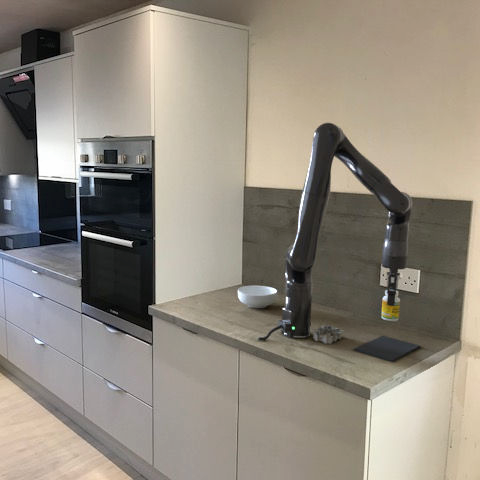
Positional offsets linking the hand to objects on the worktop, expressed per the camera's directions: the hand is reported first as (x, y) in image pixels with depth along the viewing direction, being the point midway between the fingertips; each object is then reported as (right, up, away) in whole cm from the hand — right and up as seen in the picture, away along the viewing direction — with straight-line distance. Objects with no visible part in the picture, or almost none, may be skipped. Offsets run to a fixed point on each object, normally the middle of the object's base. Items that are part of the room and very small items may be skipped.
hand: (390, 303), depth 175 cm
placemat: (0, -16, +2) cm, 16 cm away
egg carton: (-18, -14, +12) cm, 25 cm away
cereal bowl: (-35, -8, +52) cm, 63 cm away
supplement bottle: (0, -6, +1) cm, 6 cm away
